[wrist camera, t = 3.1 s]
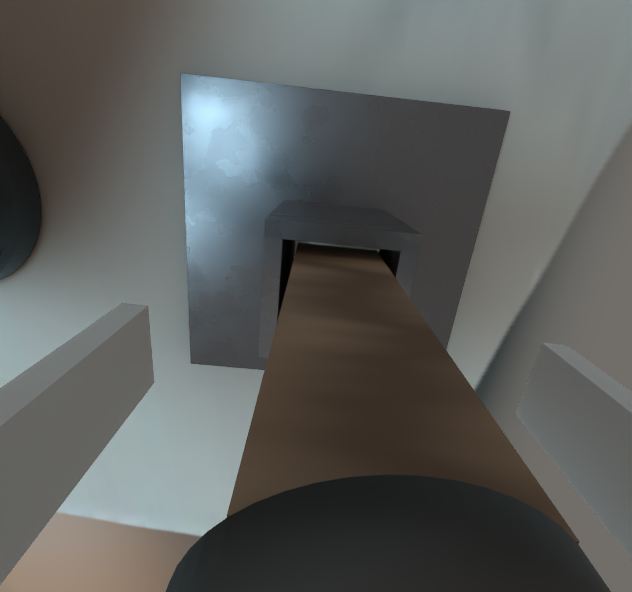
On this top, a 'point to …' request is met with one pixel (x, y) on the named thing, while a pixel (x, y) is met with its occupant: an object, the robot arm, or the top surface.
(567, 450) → the robot arm
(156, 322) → the top surface
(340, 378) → the post
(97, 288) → the top surface
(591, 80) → the top surface
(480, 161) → the sleeve stand
